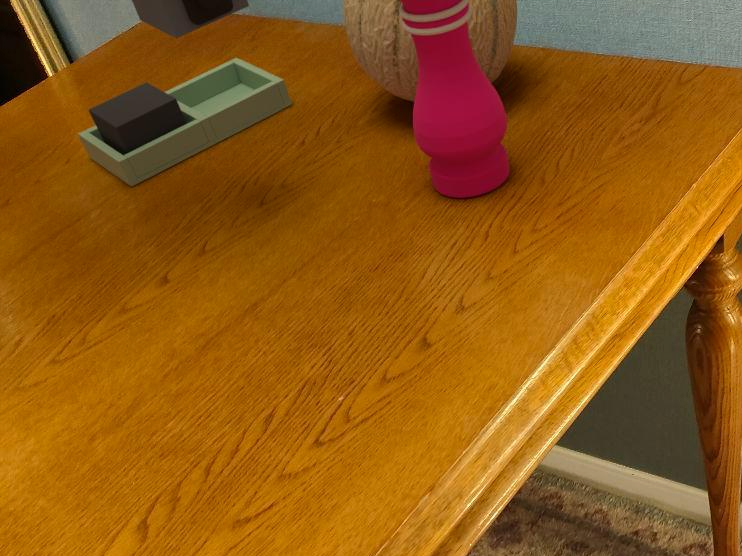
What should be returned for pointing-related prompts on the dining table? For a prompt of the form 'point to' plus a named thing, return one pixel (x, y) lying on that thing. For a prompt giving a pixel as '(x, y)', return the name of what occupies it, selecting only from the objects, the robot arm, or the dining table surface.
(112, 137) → the dark grey block
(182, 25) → the grey square block
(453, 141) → the pepper mill
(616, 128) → the dining table surface
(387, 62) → the cantaloupe
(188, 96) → the holder
